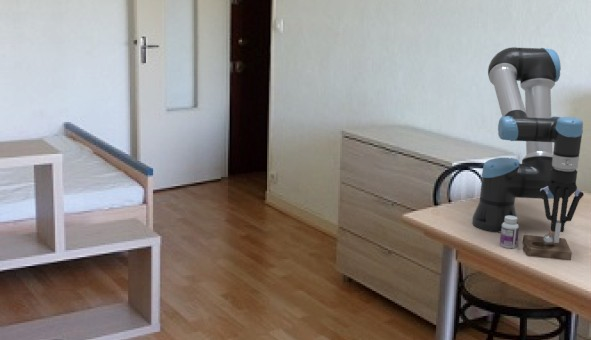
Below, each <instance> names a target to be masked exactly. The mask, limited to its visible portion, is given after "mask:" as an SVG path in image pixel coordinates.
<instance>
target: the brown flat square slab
mask: <svg viewBox="0 0 591 340" xmlns="http://www.w3.org/2000/svg"><path fill="white" fill-rule="evenodd" d="M544 236H545V235H531V234H523V236H522V237H523V238H522V244H523V247H522V248H523V252H524V253H525V255H526V257H532V258H546V259H552V260H554V259H555V260H564V261H565V260H566V261H571V260H572V253H573V252H572V250H571V248H570V246H569V243H568V241H567V239H566V238H564V237H563V238H562V237H559V243H554V242H553V244H551V245H545V244H544V243H543V241H542V238H543V237H544Z"/></svg>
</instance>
